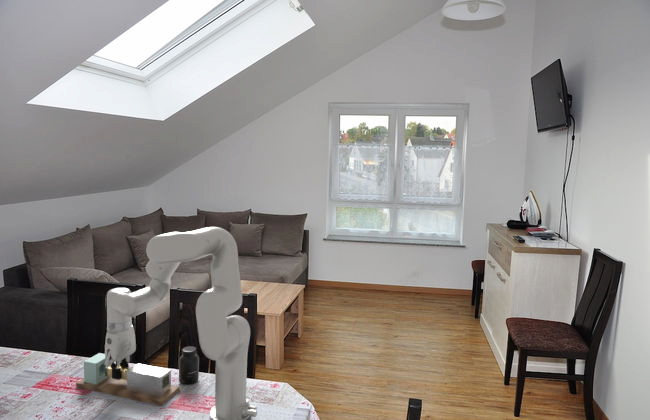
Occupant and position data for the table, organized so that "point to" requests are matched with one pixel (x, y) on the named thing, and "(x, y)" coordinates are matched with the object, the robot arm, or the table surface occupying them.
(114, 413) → the table surface
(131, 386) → the steel sleeve
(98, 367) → the sage socket block
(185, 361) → the supplement bottle
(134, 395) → the walnut base board
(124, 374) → the brass inner tube
